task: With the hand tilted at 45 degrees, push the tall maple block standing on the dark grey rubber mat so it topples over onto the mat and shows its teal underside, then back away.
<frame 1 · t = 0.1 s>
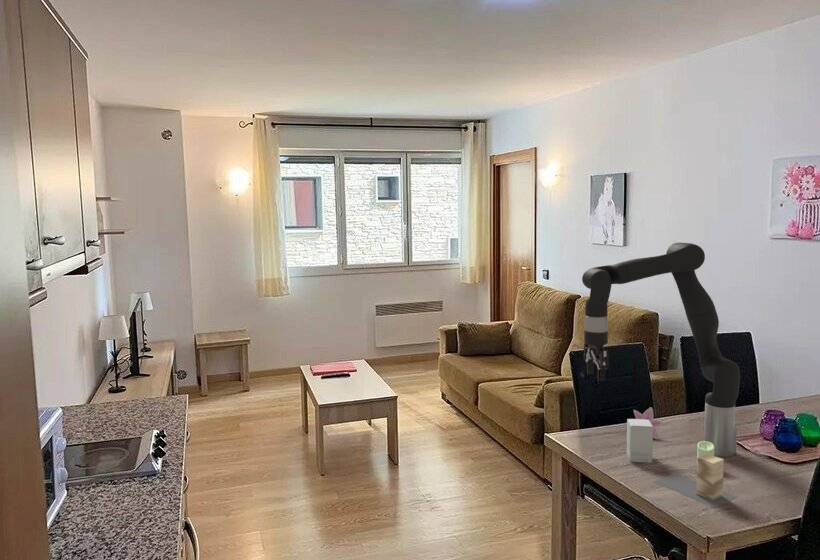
hand: (595, 377, 200), 29 cm above the table, tool pointing down, fingers open, 8 cm apart
lily: (644, 436, 226), on the table
candle: (705, 468, 197), on the table
block: (709, 495, 177), point 1 cm above the table, touching mat
supplement box: (639, 458, 206), on the table
mat: (693, 491, 181), on the table
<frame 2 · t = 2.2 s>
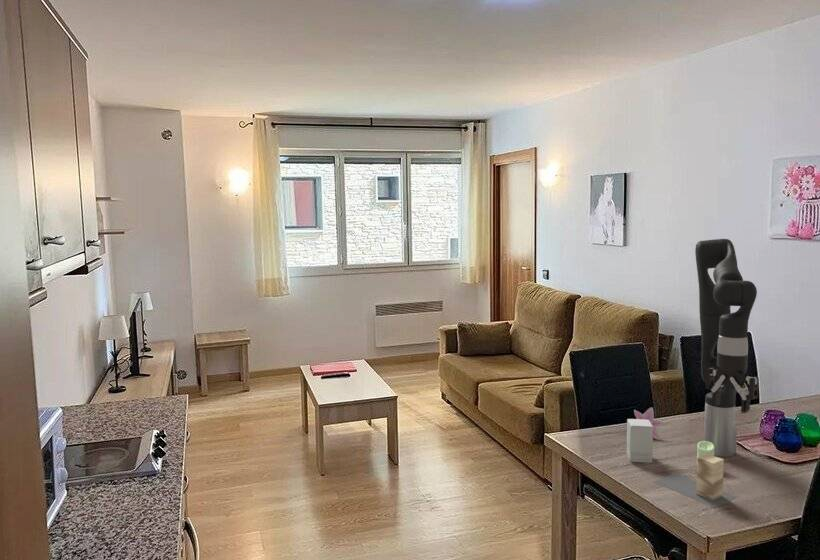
hand: (730, 408, 170), 28 cm above the table, tool pointing down, fingers open, 7 cm apart
nothing on the table moved.
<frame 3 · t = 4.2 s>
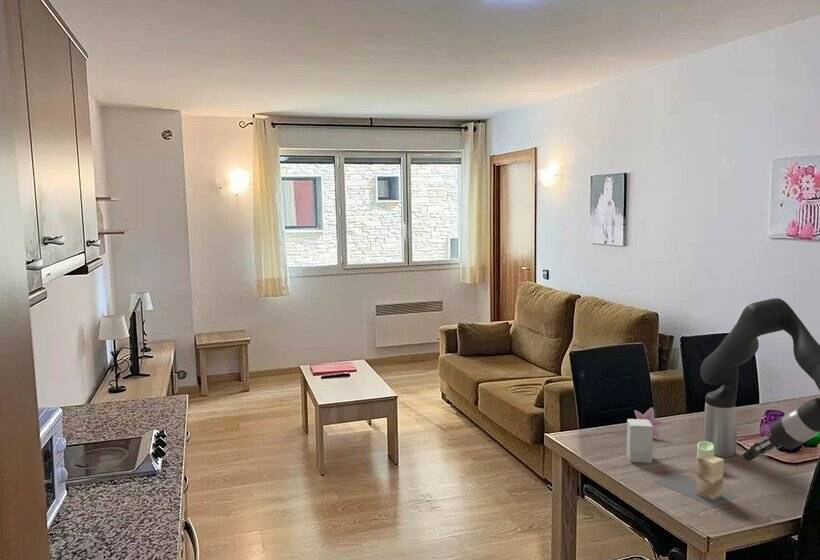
hand: (745, 457, 166), 16 cm above the table, tool tilted 45°, fingers closed
nothing on the table moved.
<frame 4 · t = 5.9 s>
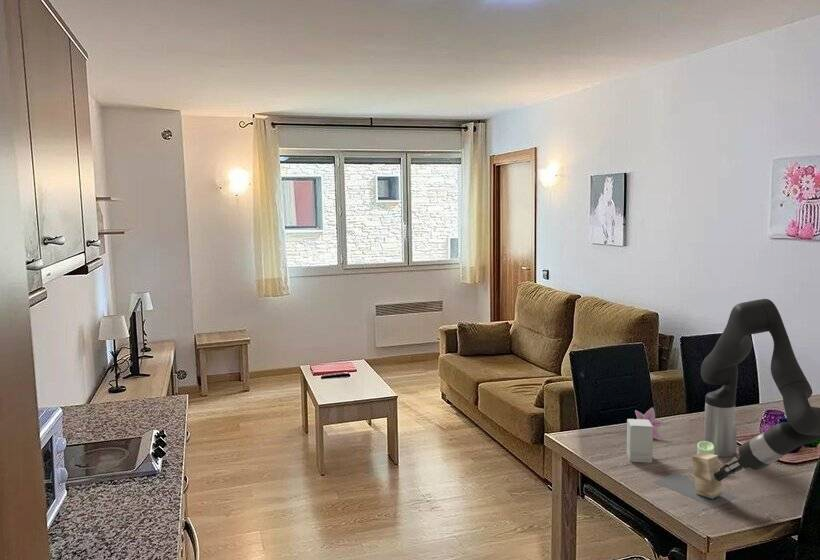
hand: (717, 477, 174), 7 cm above the table, tool tilted 45°, fingers closed
block: (709, 494, 176), point 1 cm above the table, tilted 9°, touching gripper, mat
everything else where it was.
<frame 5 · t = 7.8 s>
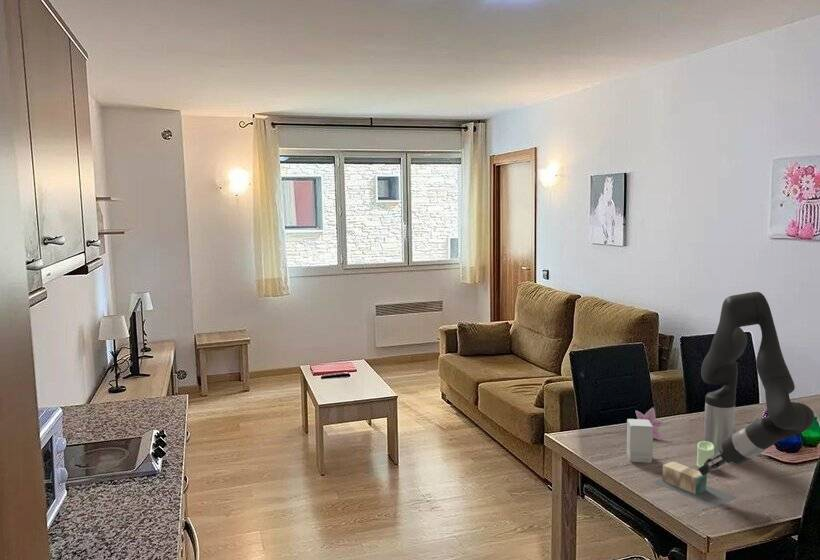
hand: (701, 471, 178), 7 cm above the table, tool tilted 45°, fingers closed
block: (701, 484, 178), point 3 cm above the table, tilted 90°, touching mat
everything else where it was.
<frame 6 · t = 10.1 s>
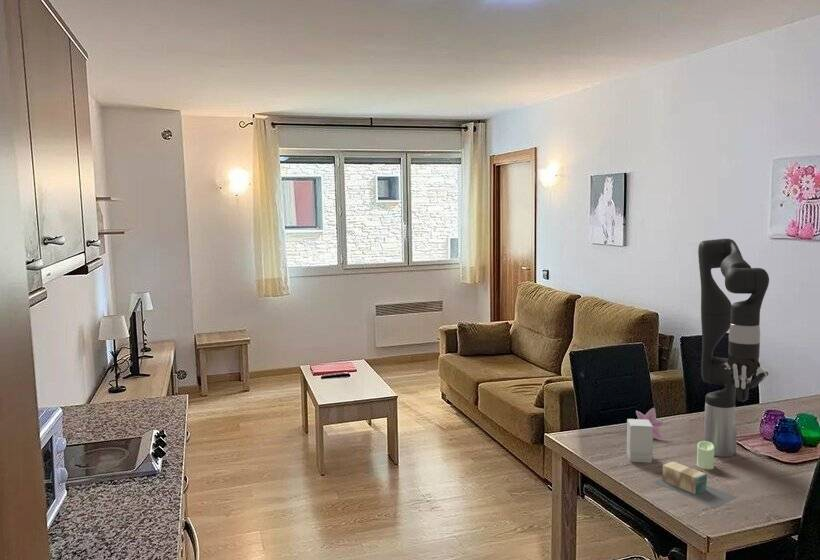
hand: (741, 400, 168), 31 cm above the table, tool pointing down, fingers closed
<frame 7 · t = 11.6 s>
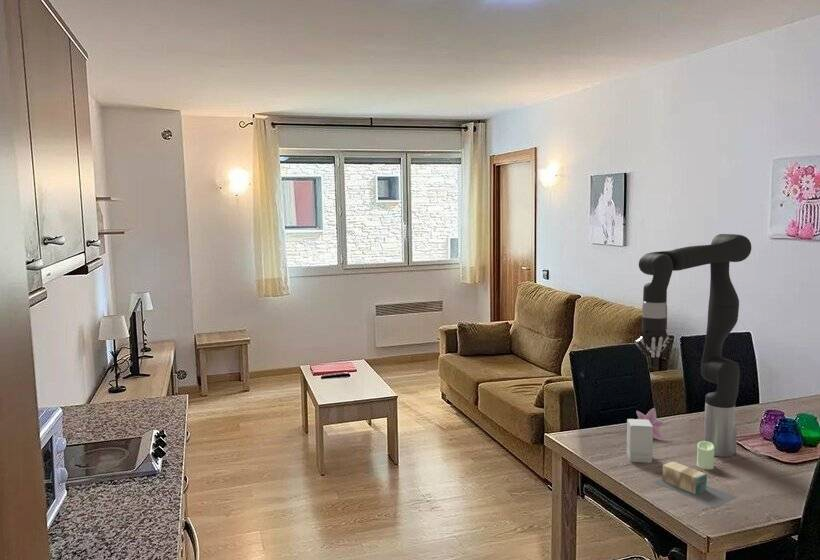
hand: (653, 367, 196), 33 cm above the table, tool pointing down, fingers closed
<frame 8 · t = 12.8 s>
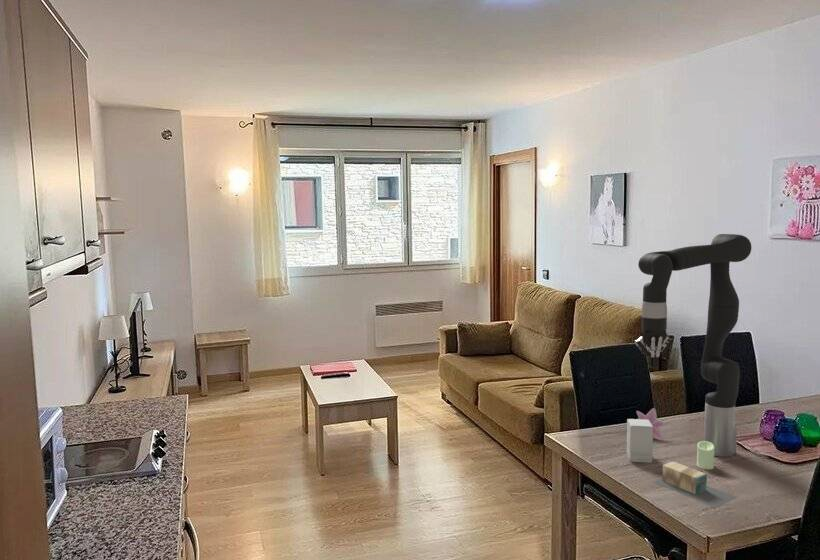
hand: (653, 367, 196), 33 cm above the table, tool pointing down, fingers closed
at the end: block tilted 90°; block 2.4 cm from the mat (horizontally); block point 3.1 cm above the table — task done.
